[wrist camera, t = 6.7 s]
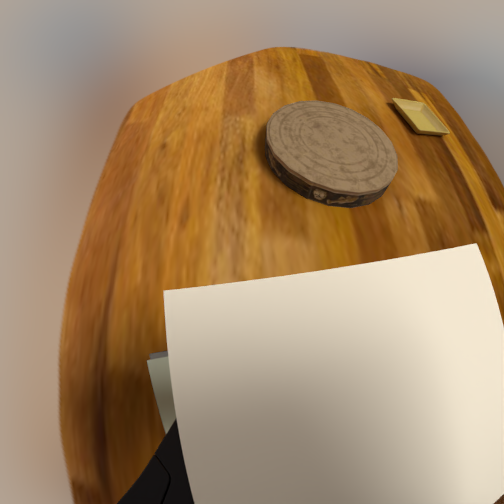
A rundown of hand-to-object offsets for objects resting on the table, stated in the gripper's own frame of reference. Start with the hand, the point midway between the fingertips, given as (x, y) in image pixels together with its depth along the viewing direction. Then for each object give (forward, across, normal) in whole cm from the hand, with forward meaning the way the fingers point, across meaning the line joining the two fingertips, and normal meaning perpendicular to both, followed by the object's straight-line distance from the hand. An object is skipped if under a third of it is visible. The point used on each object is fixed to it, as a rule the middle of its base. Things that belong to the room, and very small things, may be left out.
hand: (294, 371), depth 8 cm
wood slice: (+26, -12, -6) cm, 29 cm away
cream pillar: (+4, 0, +6) cm, 7 cm away
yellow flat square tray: (+32, -33, -12) cm, 48 cm away
